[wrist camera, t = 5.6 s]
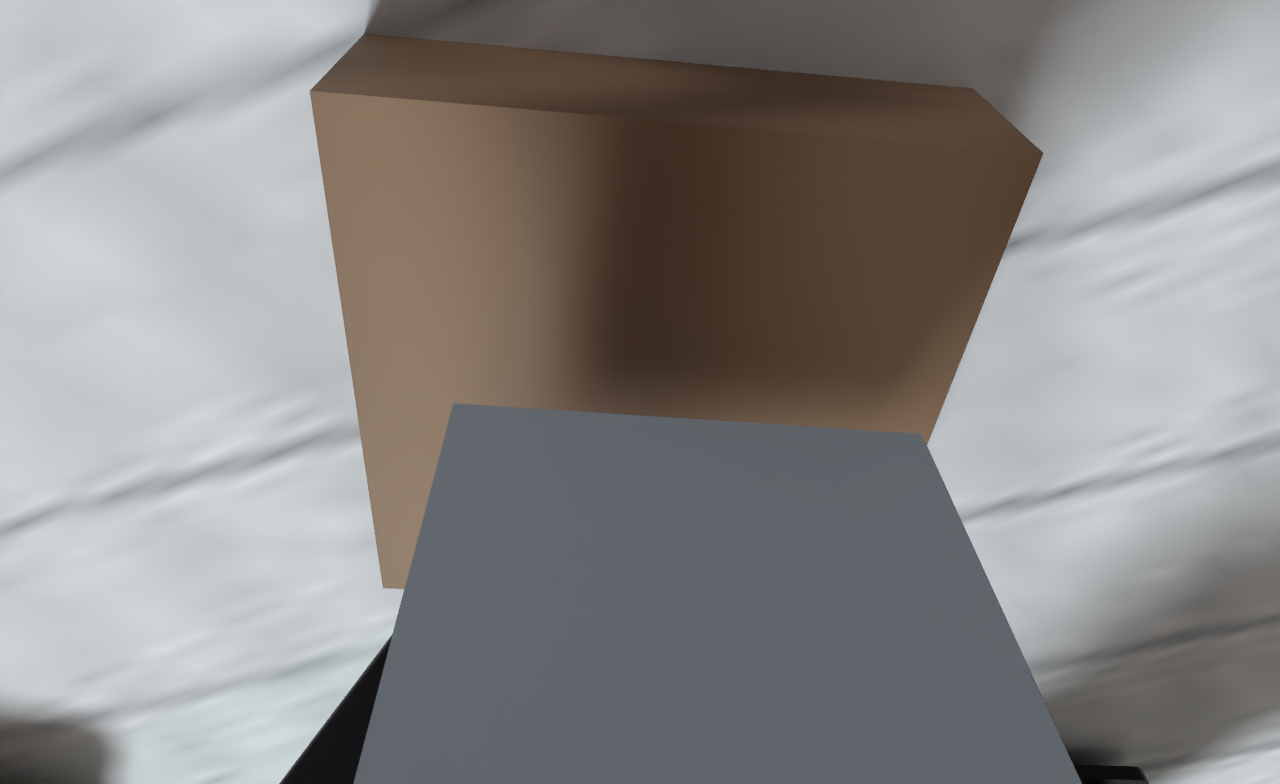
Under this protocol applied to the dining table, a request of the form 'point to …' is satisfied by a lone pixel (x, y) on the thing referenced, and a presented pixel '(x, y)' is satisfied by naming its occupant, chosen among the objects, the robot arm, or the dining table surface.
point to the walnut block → (648, 244)
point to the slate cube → (698, 614)
